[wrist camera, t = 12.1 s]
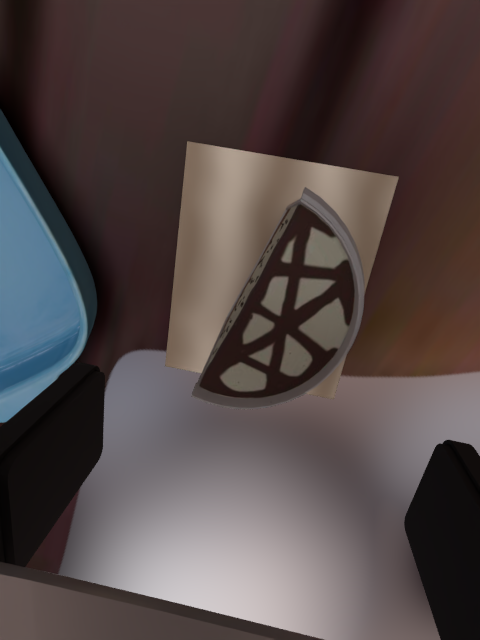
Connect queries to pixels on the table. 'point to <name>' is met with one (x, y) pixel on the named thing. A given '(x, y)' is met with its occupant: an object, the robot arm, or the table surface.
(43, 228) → the casserole dish
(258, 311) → the food container
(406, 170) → the table surface
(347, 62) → the table surface
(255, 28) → the table surface
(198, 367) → the block
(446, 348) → the table surface
